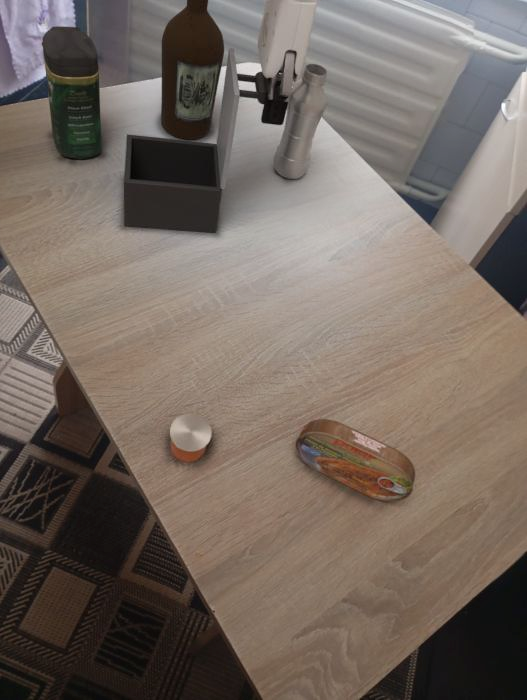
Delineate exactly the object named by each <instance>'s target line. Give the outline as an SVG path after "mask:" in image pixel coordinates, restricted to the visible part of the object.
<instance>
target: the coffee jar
mask: <svg viewBox="0 0 527 700" xmlns="http://www.w3.org/2000/svg"><path fill="white" fill-rule="evenodd" d="M41 45H42V46H41V47H42V54H43V62H44V68H45V77H46V78H45V79H46V86H47V94H48V105H49V113H50V123H51V131H52V138H53V142H54V145H55V148H56V150H57V151H58V153H59V154H60V155H61V156H63V157H65V158H69V159H75V160H83V159H90V158H93V157H96V156H98V155H99V154H101V151H102V124H101V123H102V121H101V94H100V93H101V92H100V69H99V68H100V67H99V56H98V51H97V49H96V45H95V43H94V42H93V40H92V38H91V37H90V36H89V35H88V34H87V33H86V32H84V31H82V30H81V29H80V28H79V27H76V26H57V25H56V26H52V27H50V29H48V30H46V32H45V33H44V34H43V37H42V41H41Z"/></svg>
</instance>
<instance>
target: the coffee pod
mask: <svg viewBox="0 0 527 700" xmlns="http://www.w3.org/2000/svg"><path fill="white" fill-rule="evenodd" d="M212 434H213V431H212V426H211V424H210V423H209V421H208V420H207V419H206V418H205V417H204V416H202V415H200V414H197V413H193V412H191V413H189V412H188V413H183V414H181V415H179V416H177V417H176V418H175V419H174V420H173V421H172V422H171V425H170V428H169V436H170V451H171V453H172V455H173V456H174V457H175V458H176V459H177V460H180V461H182V462H186V463H189V462H190V463H191V462H195V461H198V460H199V459H201V457H203V455H204V454H205V452H206V449H207V446H208V445H209V443H210V441H211V440H212Z"/></svg>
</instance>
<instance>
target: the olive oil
mask: <svg viewBox="0 0 527 700" xmlns="http://www.w3.org/2000/svg"><path fill="white" fill-rule="evenodd" d="M208 5H209V0H186V6H185V7H184V8H183V9H182V10H181V11H179V12H177V14H175V15H174V16H173V17H171V18H170V20H168V22H167V24H166V25H165V27H164V29H163V34H162V36H161V37H162V38H161V102H160V103H161V105H160V107H161V108H160V109H161V110H160V112H161V113H160V123H161V126H162V128H163V130H165V132H166V133H168V134H169V135H171V136H173V137H174V138H177V139H180V140H186V141H194V140H199V139H202V138H204V137H206V136H207V135H208V134H209V132H210V130H211V127H212V120H213V114H214V108H215V102H216V98H217V97H216V96H217V92H218V87H219V86H218V85H219V81H220V77H221V71H222V66H223V60H224V55H225V42H224V37H223V34H222V30H221V29H220V27H219V26H218V24H217V23H216V21H215V20H214V19H213V17H212V16H211V14H210V13H209V11H208Z"/></svg>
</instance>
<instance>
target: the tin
mask: <svg viewBox="0 0 527 700" xmlns="http://www.w3.org/2000/svg"><path fill="white" fill-rule="evenodd" d="M295 451H296V453H297V455H298V457H299V458H300V459H301V461H302V462H303V463H305V465H307V466H308V467H309V468H311V469H313V470H314V471H316V472H318V473H319V474H322V475H325V476H327V477H328V478H330V479H332V480H334V481H337V482H339V483H341V484H343V485H344V486H347V487H349V488H351V489H353V490H354V491H357V492H359V493H360V494H363V495H365V496H367V497H369V498H371V499H375V500H378V501H383V502H399V501H403V500H405V499H408V498H409V497H410V496H411V495H412V493H413V489H414V483H415V480H416V479H415V478H416V477H415V476H416V468H415V466H414V464H413V462H412V461H411V459H410V458H409V457H408V456H407V455H405V454H404V453H402V452H401V451H400V450H398V449H396V448H394V447H392V446H390V445H388V444H386V443H383V442H382V441H380V440H377V439H376V438H374V437H372V436H369V435H367V434H366V433H363V432H361V431H358V430H357V429H355V428H352V427H350V426H348V425H346V424H344V423H342V422H339V421H337V420H333V419H326V418H318V419H313V420H311V421H308V423H306V424H305V425H304V426H303V427H302V430H301V431H300V434H299V436H298V438H297V439H296V441H295Z"/></svg>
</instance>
